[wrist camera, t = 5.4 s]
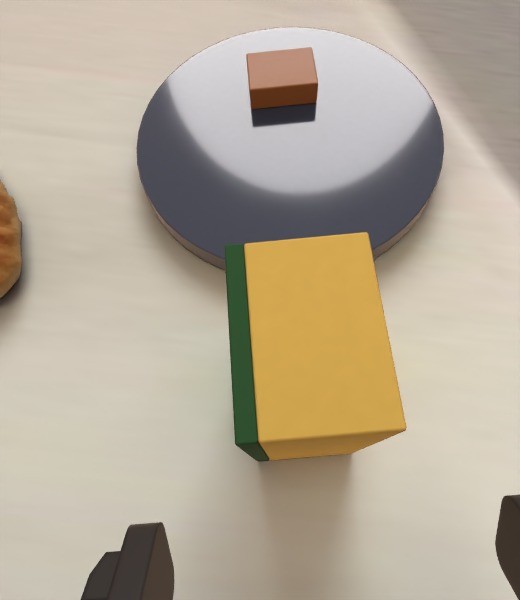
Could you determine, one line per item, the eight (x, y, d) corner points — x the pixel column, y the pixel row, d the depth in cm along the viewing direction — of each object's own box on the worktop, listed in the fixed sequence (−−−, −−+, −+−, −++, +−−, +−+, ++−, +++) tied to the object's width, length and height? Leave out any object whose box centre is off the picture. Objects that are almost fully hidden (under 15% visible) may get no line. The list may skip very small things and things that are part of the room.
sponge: (257, 461, 21) (235, 445, 12) (248, 339, 23) (224, 244, 14) (353, 453, 21) (408, 430, 12) (334, 331, 23) (368, 230, 14)
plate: (139, 296, 24) (131, 285, 23) (146, 60, 31) (139, 41, 30) (470, 265, 24) (481, 252, 23) (403, 34, 31) (408, 13, 30)
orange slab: (251, 110, 27) (249, 89, 26) (247, 74, 28) (246, 52, 27) (316, 103, 27) (318, 82, 26) (310, 67, 28) (312, 46, 27)
